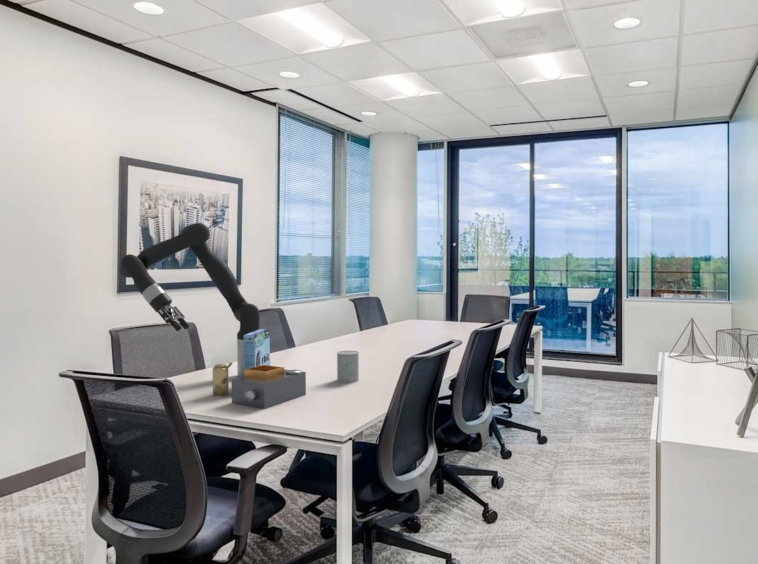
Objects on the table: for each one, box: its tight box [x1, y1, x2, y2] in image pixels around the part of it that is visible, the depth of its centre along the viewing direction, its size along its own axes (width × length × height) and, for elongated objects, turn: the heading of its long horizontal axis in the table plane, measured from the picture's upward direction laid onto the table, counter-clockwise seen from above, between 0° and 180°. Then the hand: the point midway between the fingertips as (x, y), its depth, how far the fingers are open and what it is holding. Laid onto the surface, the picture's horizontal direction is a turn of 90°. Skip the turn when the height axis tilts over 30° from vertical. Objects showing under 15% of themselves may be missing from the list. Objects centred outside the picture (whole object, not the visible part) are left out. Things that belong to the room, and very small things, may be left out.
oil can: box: [212, 362, 233, 397], centre depth 222 cm, size 8×6×13 cm
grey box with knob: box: [231, 364, 307, 410], centre depth 215 cm, size 27×16×12 cm, turn 150°
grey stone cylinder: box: [336, 350, 360, 384], centre depth 248 cm, size 10×10×12 cm
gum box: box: [244, 328, 271, 376], centre depth 237 cm, size 20×5×23 cm, turn 172°
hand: (183, 328), depth 222 cm, fingers open, 8 cm apart
